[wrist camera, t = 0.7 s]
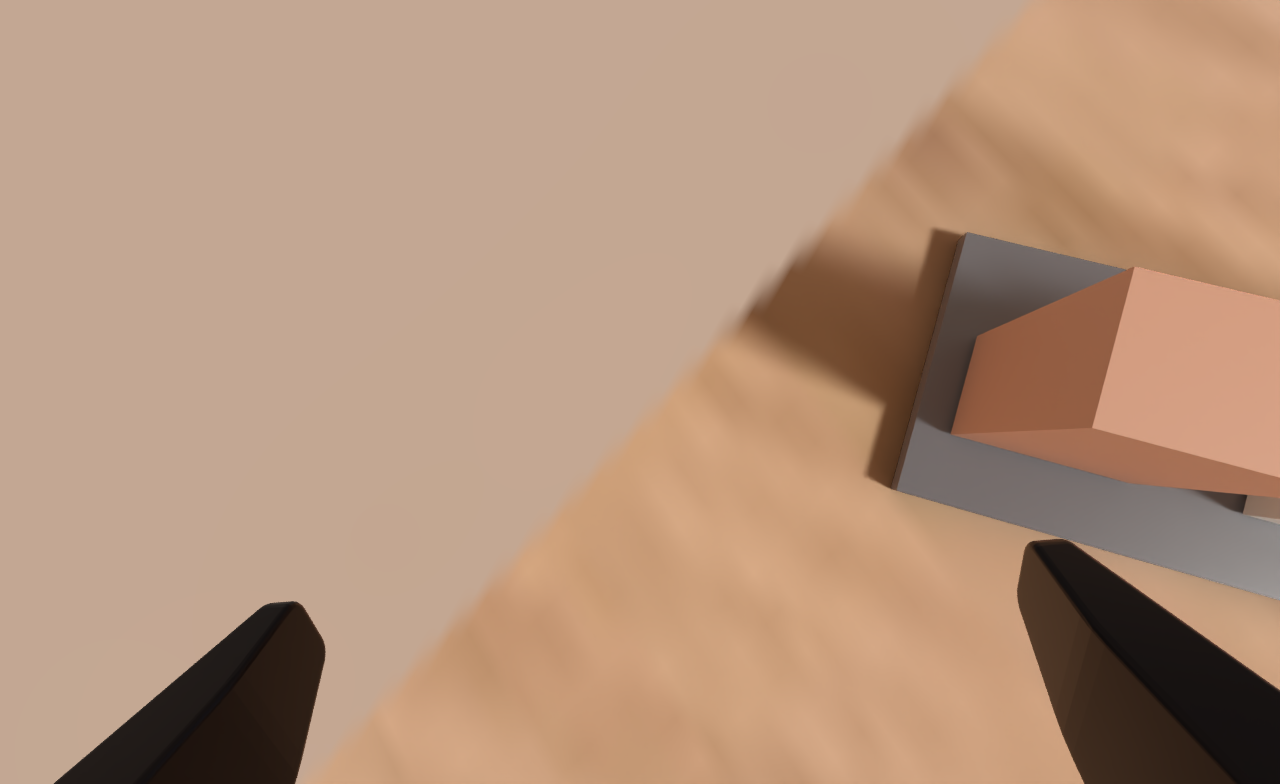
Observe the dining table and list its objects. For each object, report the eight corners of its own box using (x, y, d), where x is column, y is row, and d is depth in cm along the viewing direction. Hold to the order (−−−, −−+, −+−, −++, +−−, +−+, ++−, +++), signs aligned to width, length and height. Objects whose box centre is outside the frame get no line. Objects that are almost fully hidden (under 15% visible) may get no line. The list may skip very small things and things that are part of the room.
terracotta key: (1129, 483, 21) (1400, 509, 12) (950, 434, 22) (1092, 428, 13) (1156, 381, 21) (1442, 338, 13) (976, 336, 22) (1134, 266, 13)
